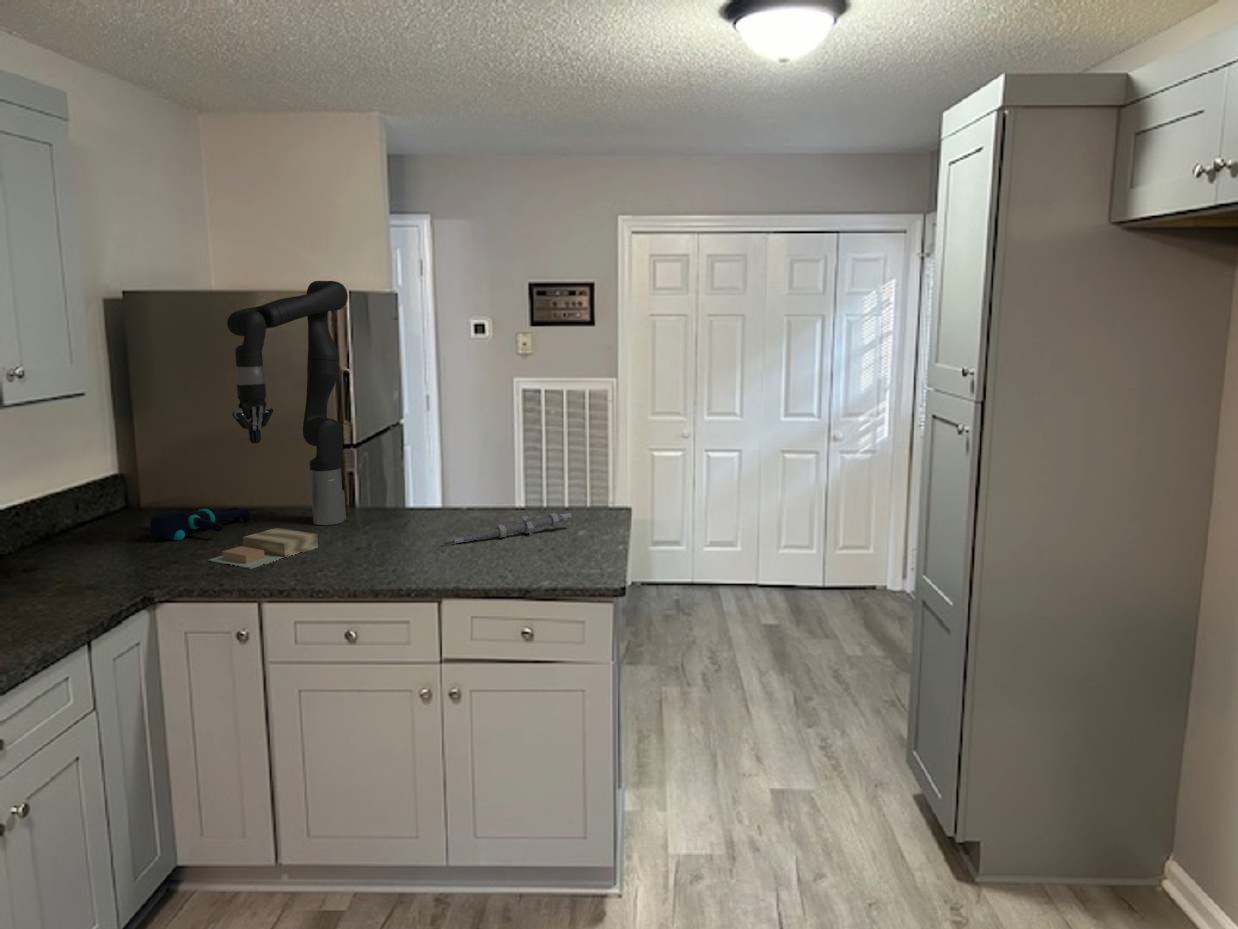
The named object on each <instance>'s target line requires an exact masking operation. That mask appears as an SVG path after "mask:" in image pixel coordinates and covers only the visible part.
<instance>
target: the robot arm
mask: <svg viewBox="0 0 1238 929" xmlns="http://www.w3.org/2000/svg"><path fill="white" fill-rule="evenodd" d="M348 299H349V295H348V291H347V288H346V286H344V284H342V283H341V282H339V281H336V280H315V281H312V282H310V284H309V285H308V287H307V290H306V294H302V295H295V296H290V297H285V298H279V299H276V300H273V301H269V302H266V303H264V304H262V305H258V306H251V307H247V308H243V309H238V310H235V311H234V312H232V313H231V314H230V315H229V316H228V318H227V321H226V325H227V329H228V330H229V331H230V332H231V333H232V334H233V335H235V336H238V337H243V342H242V344H240V345H237V347H236V348H235V356H234V357H235V366H236V370H235V380H236V391H237V392H236V393H237V399H238V401H239V403H238V409H237V410H236V411H234V412H232V417H233V418H234V420H236V422H237V423H238V425H240V427H241V428H242V429H246V430H247V431H248V439H249V441H250V443H251V444H259V443H260V442H261V440H262V435H261V434H262V433H261V431H262V429H263V428H265V427H266V426H267V425H268V422H270V419H271V417H272V415H273V413H274V409H273V408H271V407H269V406H268V405H267V402H266V399H267V387H266V379H265V378H266V377H265V375H266V374H265V370H264V364H263V363H264V360H263V347H264V343H265V338H266V333H267V329H273V328H276V327H279V326H282V325H285V324H288V323H291V322H293V321H296V320H299V319H303V318H306V317H307V328H308V329H307V331H308V332H307V339H308V340H307V359H306V360H307V364H306V368H307V369H306V376H307V377H306V378H307V379H306V401H305V409H304V415H303V422H302V436H303V438H304V440H305V443H307V444H308V445H309V446H313V447H316V454H315V455H316V456H315V457H314V458H312V459H311V460H310V461H309V475H310V490H311V491H310V492H311V505H312V506H311V507H312V508H311V509H312V521H313V524H314V525H318V526H331V525H337V524H342V523H344V521H346V520H347V513H346V511H347V510H346V496H345V491H344V489H343V486H342V485H343V484H342V468H341V467H342V465H341V463H342V461H343V453H344V448H343V446H344V445H343V444H344V443H343V442H344V441H343V438H344V437H343V430H342V427H341V424H340V423H339V422H338V421H337V420H336V419H335V418H329V417H328V403H329V398H330V395H331V394H332V392H333V389H334V387H335V385H336V384H337V383H336V382H337V380H338V377H339V367H340V366H339V362H340V361H339V360H340V359H339V357H340V356H339V352H338V349H337V346H336V343H335V342H334V339H333V336H332V335H331V333H330V329H329V312H337V311H340V310H341V309H343V308H344V307H345V306H346V305H347V302H348Z"/></svg>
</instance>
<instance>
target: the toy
mask: <svg viewBox="0 0 1238 929" xmlns="http://www.w3.org/2000/svg"><path fill="white" fill-rule="evenodd" d="M240 518H242V520H243V522H244V523H249V522H250V512H249V509H247V508H243V509H239V508H238V507H237V506H235V507H230V508H229V507H228V508H222V509H221V508H220V509H214V510H210V509H208V508H200V509H198V510H197V511H195V512H186V511H185V510H180V509H171V510H170V509H169V510H166V511H161V512H156V513H154V514H153V515H152V517H151V519H150V523H149V524H150V525H149V526H150V531H151V532H150V533H151V535H152V536H153V537H155V538H157V539H158V538H159V539H166V540H167V539H168V540H173V541H182V540H183V539H184V538H185V537H186V536H189V531H190V530H189V529H191V530H196V529H199V528H202V529H206V530H207V529H208V530H212V531H215V532H217V533H219V532H220V531H222V530H224V525H223V523H219V522H222V521H226V520H231V519H233V520H234V521H237V522H238V521H240Z"/></svg>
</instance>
